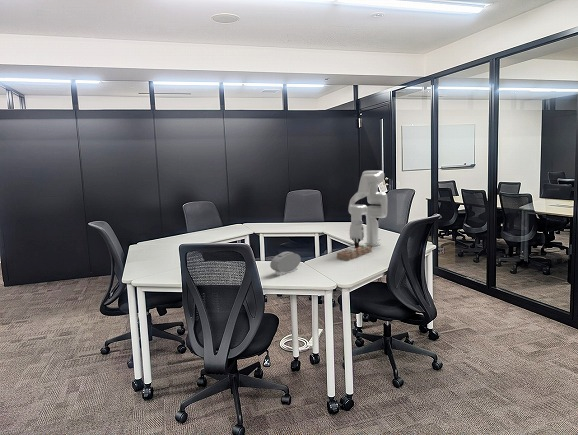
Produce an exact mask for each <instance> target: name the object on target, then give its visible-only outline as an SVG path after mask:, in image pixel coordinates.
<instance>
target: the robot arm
mask: <svg viewBox="0 0 578 435" xmlns="http://www.w3.org/2000/svg"><path fill="white" fill-rule="evenodd" d="M384 179H385V173H384V171H383V170H364V171H363V172H362V174H361V176H360V180H359V185H358V190H357V191H356V192H355V193H354V195H353V196H352V197H351V198H350V200H349V203H348V210H347V211H348V213H349V214H350V216H351V217H350V221H351V222H350V223H351V224H350V225H349V239H350V240H352V242H353V246H354V247H355V248H359V244H360V242H361V241H364V238H366V241H365V242H364V244H366V245H367V246H371V247H378V246H380V245H381V242H379V241H381V238H379V221H378V220H377V219H378V218H379V219H384V218H385V219H386V218H387V216H388V194H387V193H386V192H383V191H379V185H380V184H381V183H382V182H383V181H384ZM364 198H366V199H367V200H366V201H367V203H368V204H370V205H366V204H356V202H357V201H359V200H361V199H364ZM363 216H365V223H366V226H365V227H366V228H365V229H366V230H364V225H363V224H364V221H363V220H362V218H363ZM365 231H366V237H365Z"/></svg>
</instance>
